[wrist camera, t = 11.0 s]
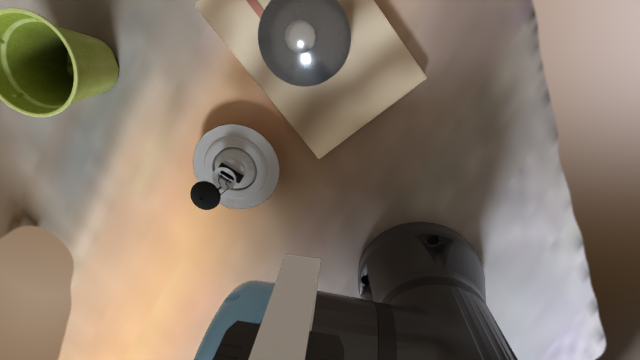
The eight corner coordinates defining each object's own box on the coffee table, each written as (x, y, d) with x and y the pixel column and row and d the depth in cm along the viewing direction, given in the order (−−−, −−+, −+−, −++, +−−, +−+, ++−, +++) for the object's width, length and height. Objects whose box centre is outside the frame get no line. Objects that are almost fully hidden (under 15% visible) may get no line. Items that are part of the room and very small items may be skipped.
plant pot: (67, 1, 37) (-14, -16, 29) (145, 49, 38) (88, 45, 30) (45, 78, 40) (-33, 83, 32) (118, 121, 41) (60, 135, 33)
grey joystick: (128, 214, 31) (225, 269, 32) (171, 120, 28) (277, 185, 29) (189, 172, 42) (259, 214, 43) (224, 103, 39) (299, 149, 40)
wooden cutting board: (423, 77, 36) (427, 78, 34) (320, 154, 40) (318, 159, 38) (300, -102, 32) (297, -112, 30) (199, 4, 36) (190, 0, 34)
